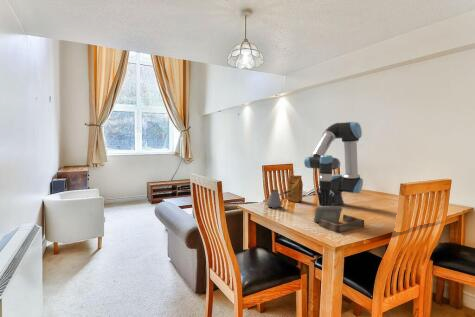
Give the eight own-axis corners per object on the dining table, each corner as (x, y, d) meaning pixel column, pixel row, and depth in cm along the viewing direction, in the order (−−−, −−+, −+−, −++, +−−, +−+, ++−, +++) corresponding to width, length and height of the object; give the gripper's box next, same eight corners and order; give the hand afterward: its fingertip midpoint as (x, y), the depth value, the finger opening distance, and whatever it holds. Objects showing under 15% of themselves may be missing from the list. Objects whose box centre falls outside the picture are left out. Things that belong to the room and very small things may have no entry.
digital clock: (339, 221, 160) (339, 204, 159) (343, 225, 151) (344, 208, 150) (312, 220, 162) (313, 203, 161) (315, 224, 153) (315, 207, 152)
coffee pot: (263, 207, 195) (263, 187, 194) (272, 204, 203) (272, 185, 202) (287, 212, 180) (287, 191, 179) (296, 209, 188) (296, 189, 187)
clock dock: (318, 225, 150) (318, 219, 150) (344, 220, 161) (344, 214, 160) (337, 233, 138) (337, 225, 138) (364, 226, 149) (364, 220, 149)
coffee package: (291, 198, 225) (292, 173, 223) (304, 201, 216) (304, 175, 214) (284, 200, 218) (285, 174, 216) (297, 203, 209) (297, 176, 207)
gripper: (313, 179, 163) (312, 215, 164) (329, 182, 151) (328, 221, 153) (322, 178, 166) (321, 214, 168) (338, 181, 155) (337, 219, 156)
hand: (324, 217), depth 160 cm, fingers closed
